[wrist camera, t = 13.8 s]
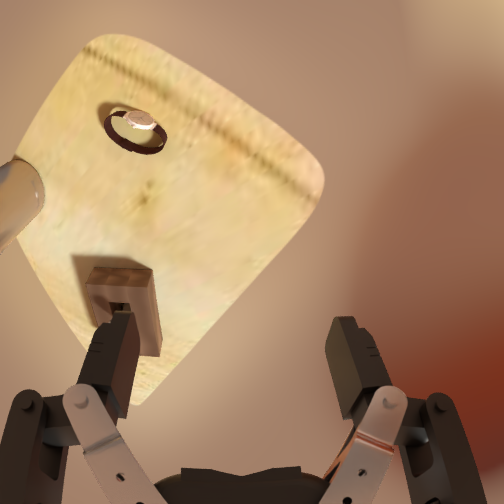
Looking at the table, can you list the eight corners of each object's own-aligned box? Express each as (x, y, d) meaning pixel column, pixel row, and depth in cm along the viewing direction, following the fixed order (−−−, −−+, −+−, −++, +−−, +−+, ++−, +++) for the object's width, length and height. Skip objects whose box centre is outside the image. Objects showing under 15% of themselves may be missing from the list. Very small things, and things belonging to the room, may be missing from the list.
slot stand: (112, 335, 52) (107, 352, 48) (94, 267, 44) (85, 283, 40) (162, 339, 52) (159, 357, 49) (152, 270, 45) (147, 287, 41)
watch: (175, 124, 34) (170, 130, 31) (159, 159, 37) (152, 168, 33) (118, 100, 32) (107, 104, 29) (104, 135, 34) (93, 143, 31)
